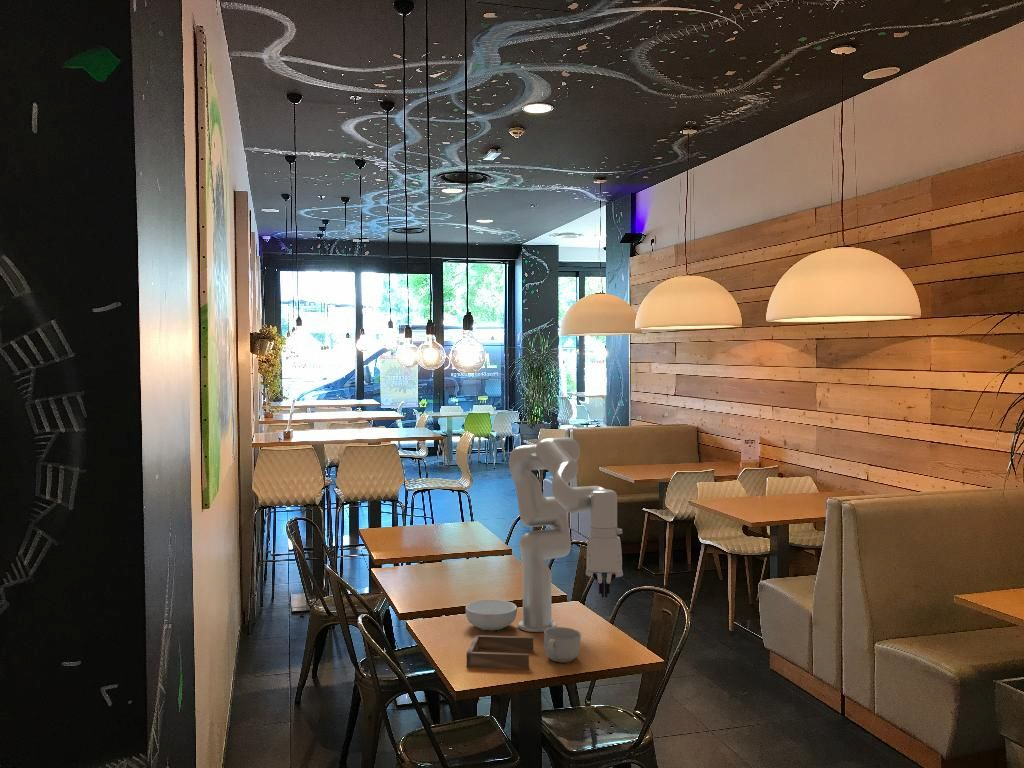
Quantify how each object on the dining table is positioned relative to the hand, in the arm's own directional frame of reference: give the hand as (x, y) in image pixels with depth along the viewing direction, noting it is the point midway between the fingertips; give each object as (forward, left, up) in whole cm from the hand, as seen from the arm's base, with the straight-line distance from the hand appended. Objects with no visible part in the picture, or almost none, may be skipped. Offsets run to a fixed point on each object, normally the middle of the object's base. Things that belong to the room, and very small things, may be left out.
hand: (604, 596), depth 237 cm
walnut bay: (0, -30, -19) cm, 35 cm away
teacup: (0, -13, -19) cm, 23 cm away
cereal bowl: (-30, -37, -19) cm, 51 cm away
